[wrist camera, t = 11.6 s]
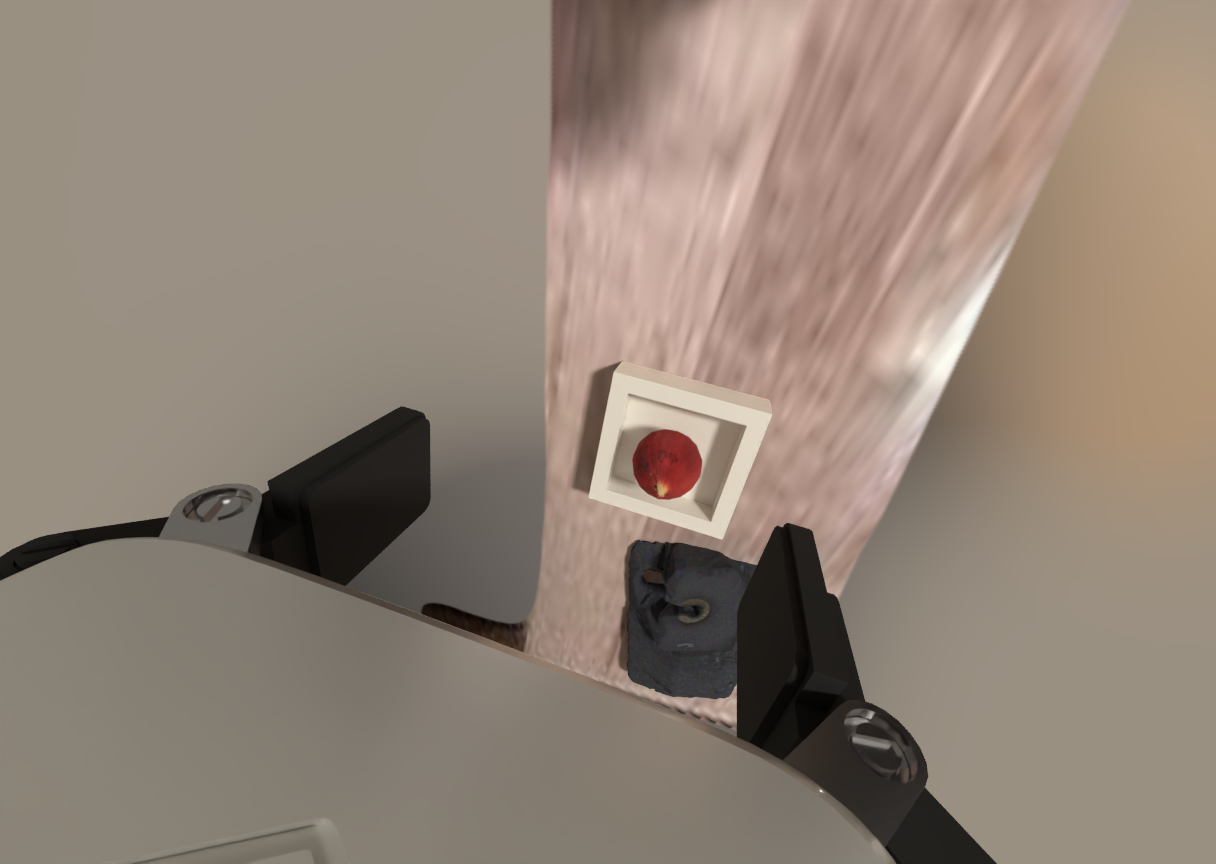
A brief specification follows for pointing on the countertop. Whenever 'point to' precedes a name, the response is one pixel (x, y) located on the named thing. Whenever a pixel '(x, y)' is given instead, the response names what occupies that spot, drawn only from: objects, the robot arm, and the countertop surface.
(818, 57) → the countertop surface
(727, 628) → the dark grey folded cloth
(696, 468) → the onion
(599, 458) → the dish
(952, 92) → the countertop surface
